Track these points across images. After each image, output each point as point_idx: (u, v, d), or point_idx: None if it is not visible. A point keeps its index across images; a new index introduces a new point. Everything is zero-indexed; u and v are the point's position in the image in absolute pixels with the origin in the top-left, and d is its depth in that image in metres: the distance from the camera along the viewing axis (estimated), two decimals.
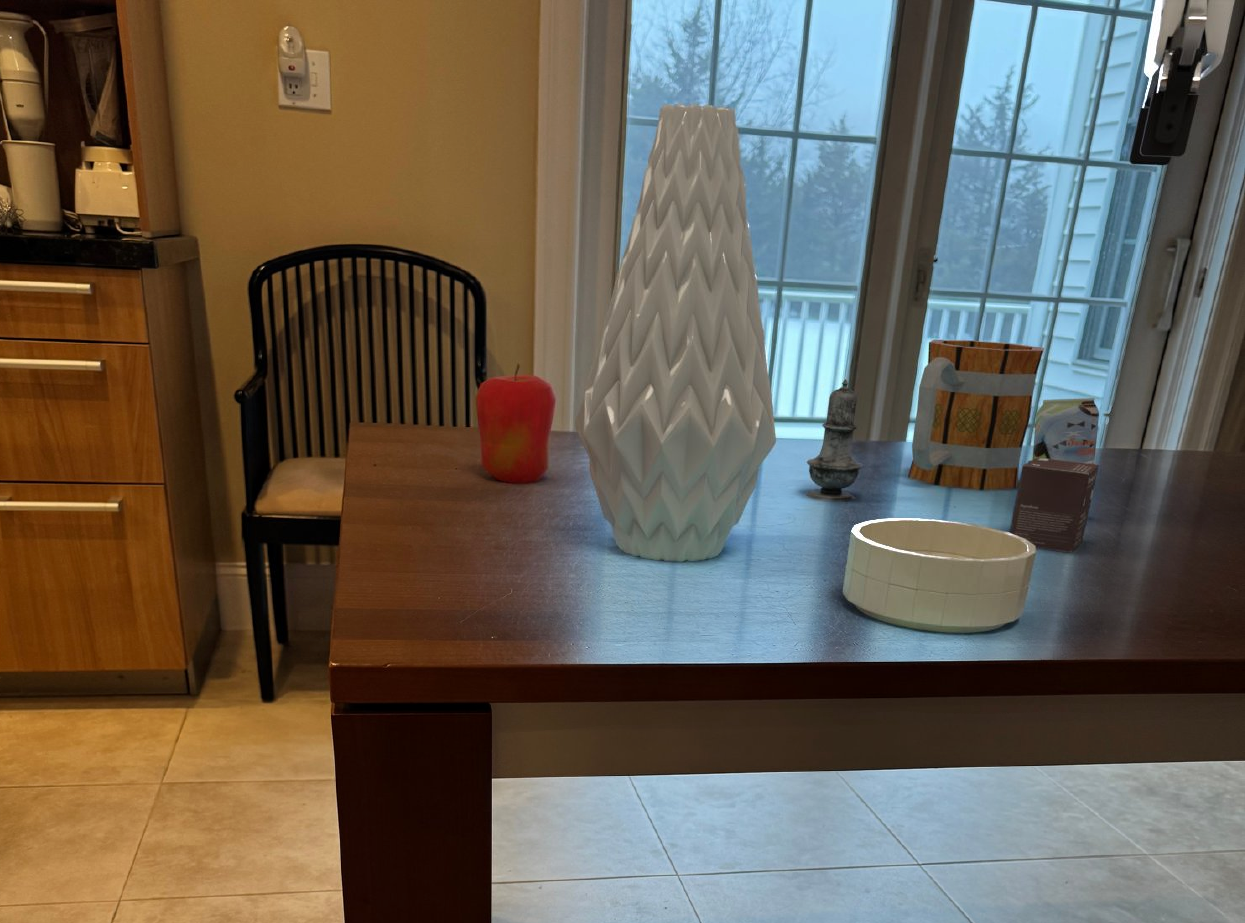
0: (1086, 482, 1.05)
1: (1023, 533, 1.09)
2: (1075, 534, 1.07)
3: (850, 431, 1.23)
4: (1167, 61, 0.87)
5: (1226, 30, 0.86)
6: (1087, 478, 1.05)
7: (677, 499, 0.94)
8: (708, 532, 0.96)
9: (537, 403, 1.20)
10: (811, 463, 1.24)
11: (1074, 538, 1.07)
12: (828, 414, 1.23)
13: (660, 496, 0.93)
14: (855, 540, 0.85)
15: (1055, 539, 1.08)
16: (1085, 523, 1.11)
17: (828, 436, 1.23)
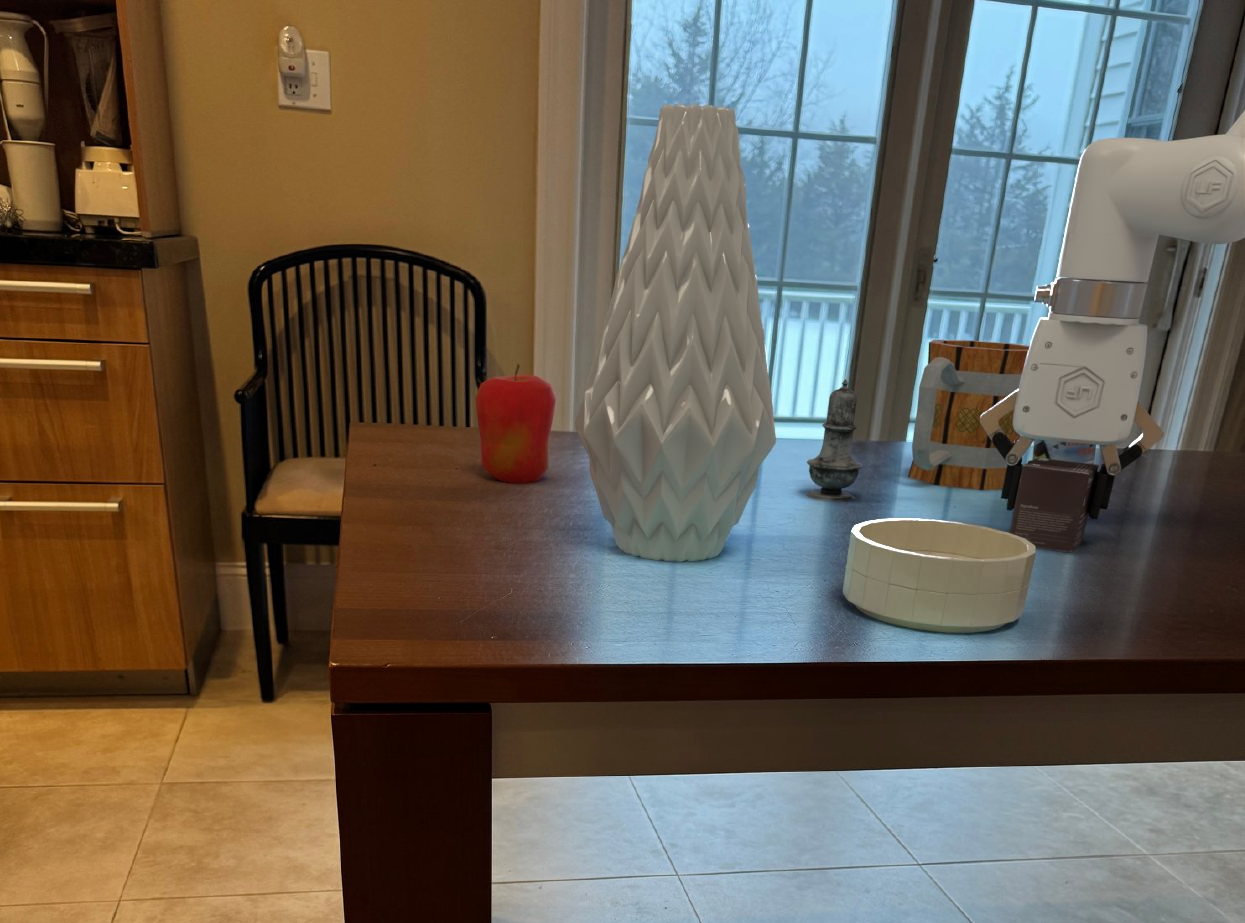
0: (1086, 482, 1.05)
1: (1023, 533, 1.09)
2: (1075, 534, 1.07)
3: (850, 431, 1.23)
4: (1016, 438, 1.09)
5: (1017, 412, 1.05)
6: (1087, 478, 1.05)
7: (677, 499, 0.94)
8: (708, 532, 0.96)
9: (537, 403, 1.20)
10: (811, 463, 1.24)
11: (1074, 538, 1.07)
12: (828, 414, 1.23)
13: (660, 496, 0.93)
14: (855, 540, 0.85)
15: (1055, 539, 1.08)
16: (1085, 523, 1.11)
17: (828, 436, 1.23)
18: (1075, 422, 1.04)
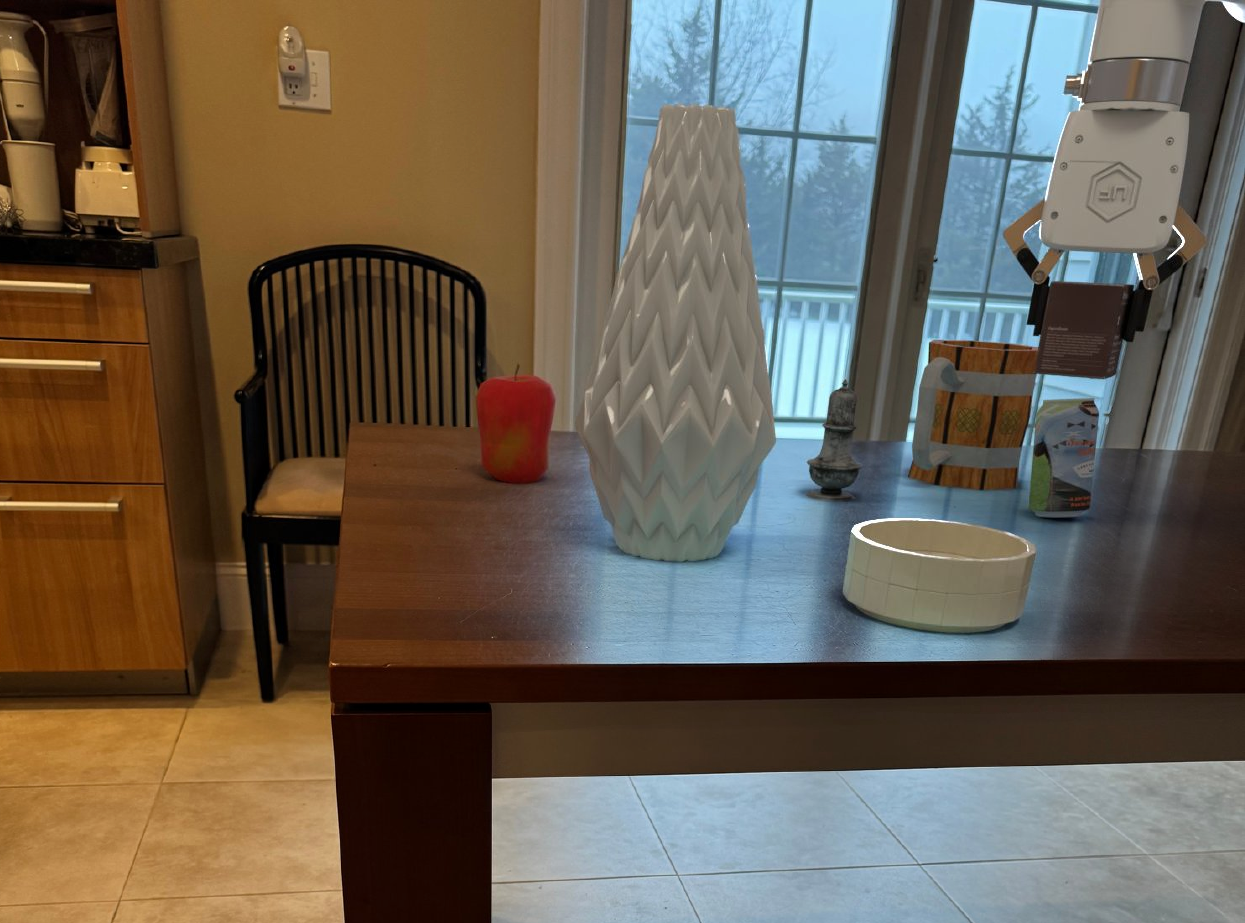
0: (1121, 296, 0.96)
1: (1051, 360, 1.00)
2: (1108, 357, 0.98)
3: (850, 431, 1.23)
4: None
5: (1044, 219, 0.96)
6: (1122, 291, 0.95)
7: (677, 499, 0.94)
8: (708, 532, 0.96)
9: (537, 403, 1.20)
10: (811, 463, 1.24)
11: (1107, 362, 0.98)
12: (828, 414, 1.23)
13: (660, 496, 0.93)
14: (855, 540, 0.85)
15: (1087, 364, 0.98)
16: (1119, 352, 1.01)
17: (828, 436, 1.23)
18: (1109, 227, 0.94)
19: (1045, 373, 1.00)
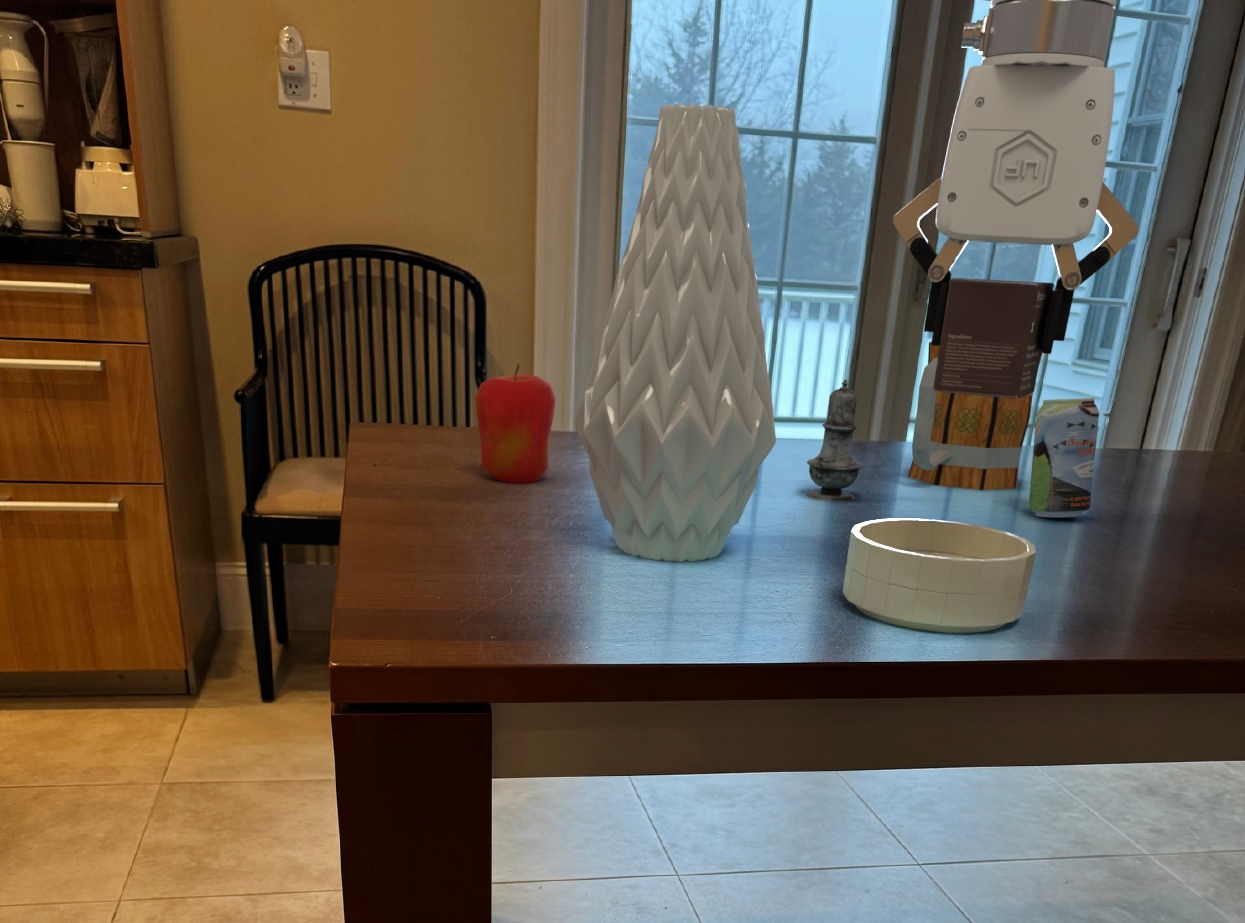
0: (1034, 297, 0.78)
1: (953, 375, 0.82)
2: (1021, 372, 0.80)
3: (850, 431, 1.23)
4: None
5: (940, 202, 0.78)
6: (1035, 291, 0.77)
7: (677, 499, 0.94)
8: (708, 532, 0.96)
9: (537, 403, 1.20)
10: (811, 463, 1.24)
11: (1020, 377, 0.80)
12: (828, 414, 1.23)
13: (660, 496, 0.93)
14: (855, 540, 0.85)
15: (995, 381, 0.80)
16: (1037, 364, 0.83)
17: (828, 436, 1.23)
18: (1018, 212, 0.76)
19: (946, 391, 0.82)
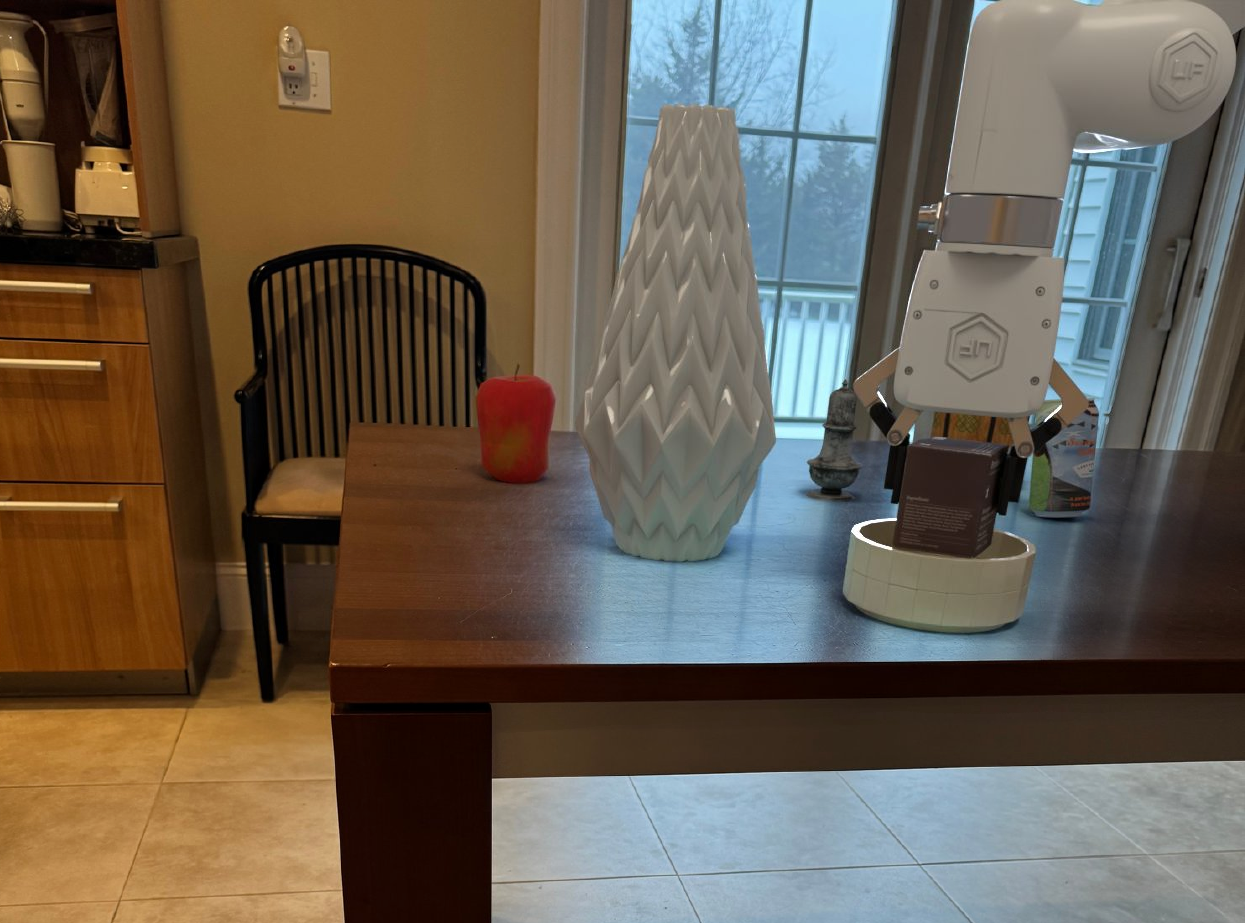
0: (988, 466, 0.80)
1: (911, 534, 0.84)
2: (976, 535, 0.82)
3: (850, 431, 1.23)
4: None
5: (897, 375, 0.80)
6: (989, 461, 0.80)
7: (677, 499, 0.94)
8: (708, 532, 0.96)
9: (537, 403, 1.20)
10: (811, 463, 1.24)
11: (975, 540, 0.82)
12: (828, 414, 1.23)
13: (660, 496, 0.93)
14: (855, 540, 0.85)
15: (952, 542, 0.83)
16: (993, 520, 0.86)
17: (828, 436, 1.23)
18: (972, 387, 0.79)
19: (905, 548, 0.85)
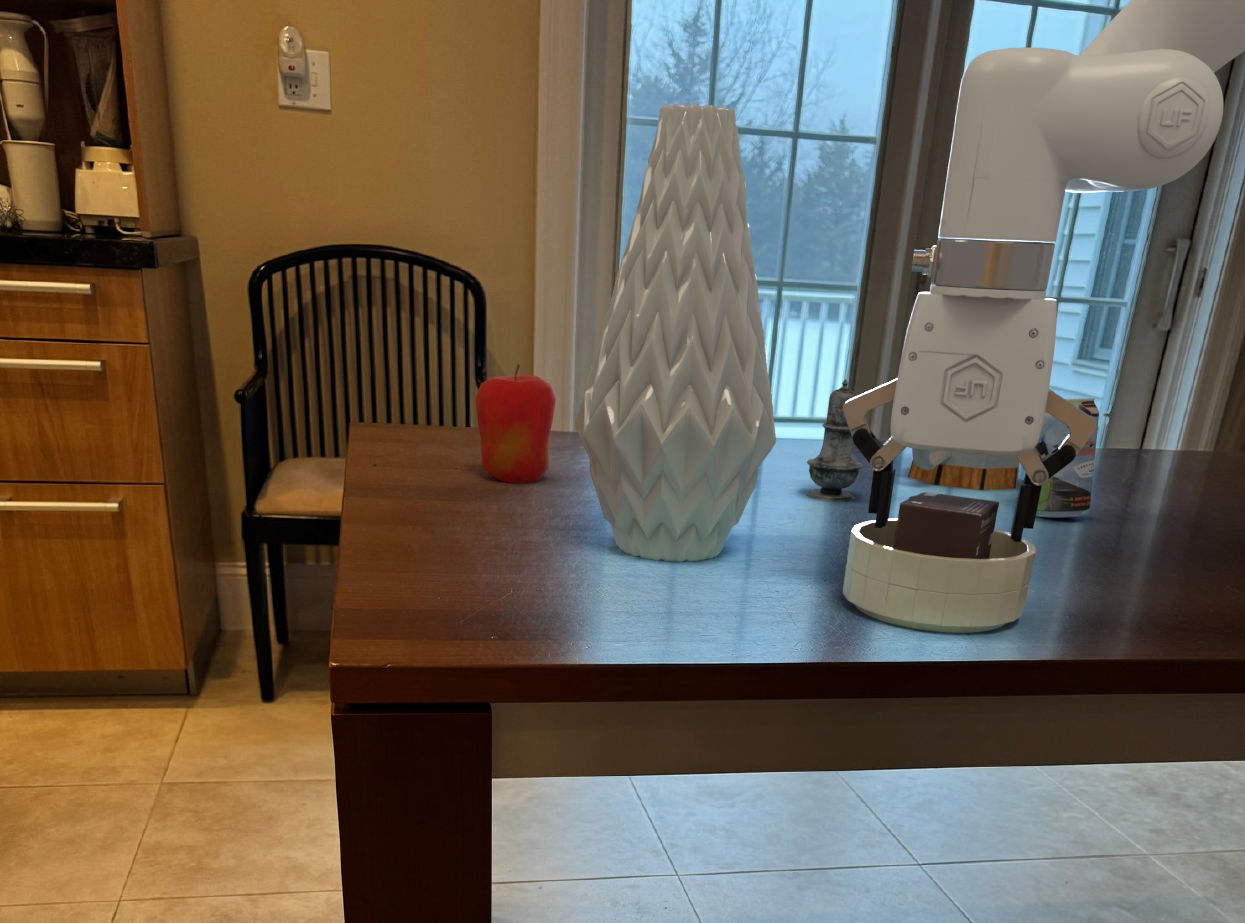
0: (978, 526, 0.82)
1: None
2: None
3: None
4: None
5: (894, 415, 0.81)
6: (979, 521, 0.82)
7: (677, 499, 0.94)
8: (708, 532, 0.96)
9: (537, 403, 1.20)
10: (811, 463, 1.24)
11: None
12: (828, 414, 1.23)
13: (660, 496, 0.93)
14: (855, 540, 0.85)
15: None
16: None
17: (828, 436, 1.23)
18: (967, 427, 0.80)
19: None
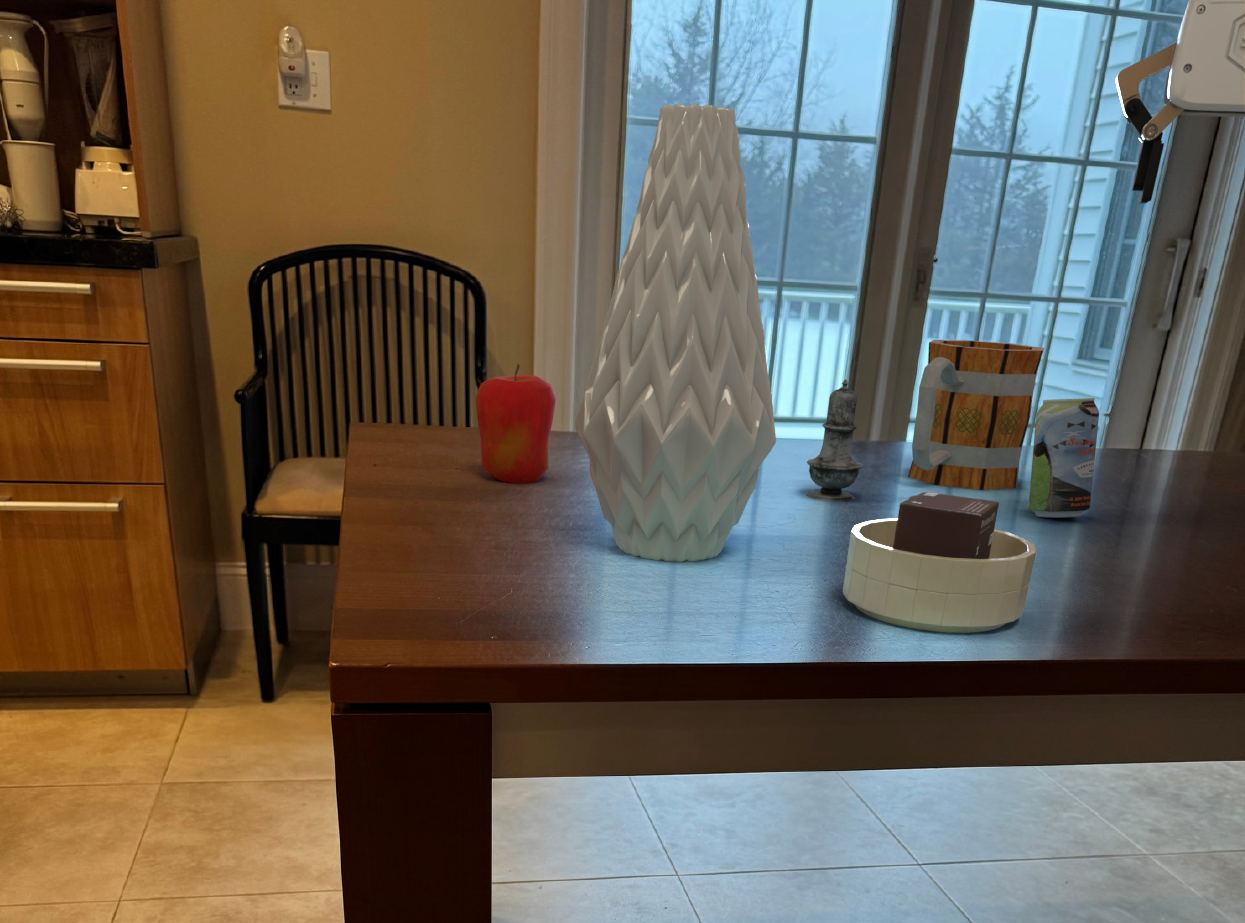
0: (978, 526, 0.82)
1: None
2: None
3: (850, 431, 1.23)
4: None
5: (1175, 74, 0.84)
6: (979, 521, 0.82)
7: (677, 499, 0.94)
8: (708, 532, 0.96)
9: (537, 403, 1.20)
10: (811, 463, 1.24)
11: None
12: (828, 414, 1.23)
13: (660, 496, 0.93)
14: (855, 540, 0.85)
15: None
16: None
17: (828, 436, 1.23)
18: None
19: None
